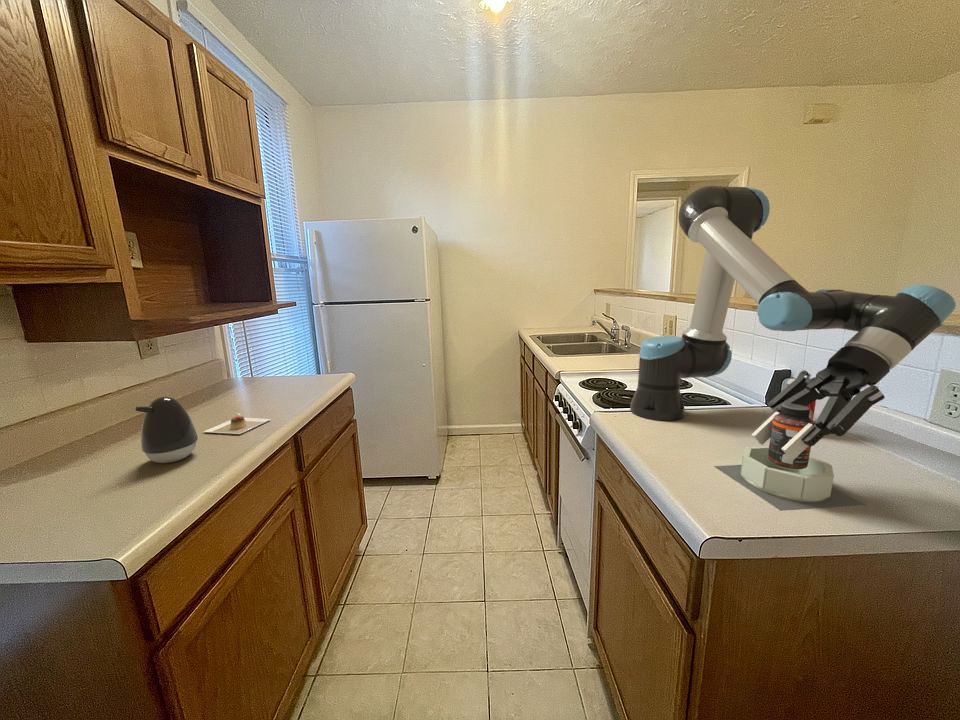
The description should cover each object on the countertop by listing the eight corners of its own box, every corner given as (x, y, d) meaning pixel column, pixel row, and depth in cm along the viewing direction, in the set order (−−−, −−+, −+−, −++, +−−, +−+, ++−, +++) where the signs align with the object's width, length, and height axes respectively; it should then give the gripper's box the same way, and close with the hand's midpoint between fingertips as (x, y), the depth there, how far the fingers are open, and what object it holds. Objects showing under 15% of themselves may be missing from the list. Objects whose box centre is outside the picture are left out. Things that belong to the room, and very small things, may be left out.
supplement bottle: (796, 473, 66) (805, 413, 64) (760, 460, 71) (767, 404, 69) (815, 466, 68) (823, 408, 66) (778, 454, 73) (785, 400, 71)
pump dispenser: (133, 465, 84) (120, 401, 81) (182, 446, 94) (172, 389, 91) (162, 471, 81) (149, 405, 78) (210, 452, 90) (200, 393, 88)
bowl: (725, 469, 77) (728, 447, 76) (783, 465, 78) (786, 444, 77) (780, 504, 64) (784, 479, 63) (849, 500, 65) (854, 475, 64)
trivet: (713, 468, 78) (713, 466, 78) (783, 464, 79) (784, 462, 79) (779, 513, 62) (780, 510, 62) (865, 507, 64) (866, 504, 63)
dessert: (240, 437, 101) (237, 421, 100) (203, 435, 103) (200, 419, 102) (271, 422, 113) (269, 407, 112) (237, 420, 115) (235, 406, 114)
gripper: (944, 384, 58) (834, 484, 60) (825, 362, 77) (743, 439, 79) (920, 352, 57) (808, 456, 59) (805, 338, 76) (722, 417, 77)
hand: (771, 446), depth 69 cm, fingers closed on supplement bottle, 6 cm apart
